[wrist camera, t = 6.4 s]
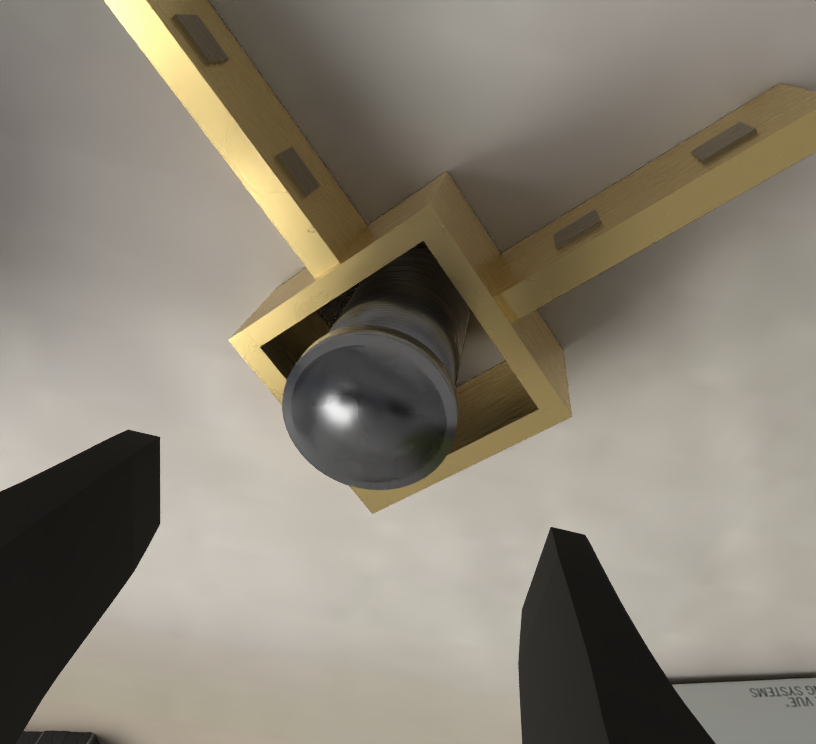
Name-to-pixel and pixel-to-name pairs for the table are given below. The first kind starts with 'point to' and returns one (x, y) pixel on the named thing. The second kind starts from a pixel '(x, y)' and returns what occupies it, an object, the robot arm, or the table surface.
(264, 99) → the gold square socket frame
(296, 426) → the pin
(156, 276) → the table surface
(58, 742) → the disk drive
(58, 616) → the robot arm
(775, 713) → the tea box
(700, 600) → the table surface
